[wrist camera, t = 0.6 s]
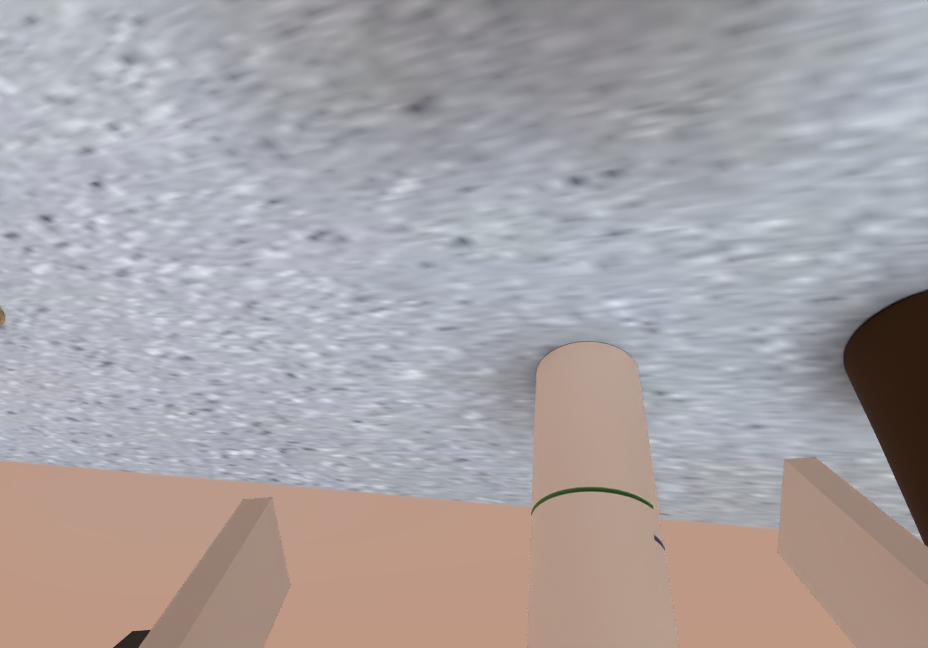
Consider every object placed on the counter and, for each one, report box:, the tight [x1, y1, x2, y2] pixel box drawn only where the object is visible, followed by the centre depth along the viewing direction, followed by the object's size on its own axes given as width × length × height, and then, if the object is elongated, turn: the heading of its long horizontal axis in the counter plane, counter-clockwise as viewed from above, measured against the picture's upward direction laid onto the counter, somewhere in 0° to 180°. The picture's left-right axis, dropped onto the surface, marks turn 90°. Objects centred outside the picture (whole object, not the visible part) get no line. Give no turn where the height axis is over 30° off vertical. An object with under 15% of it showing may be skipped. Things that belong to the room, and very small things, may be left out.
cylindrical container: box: [527, 342, 680, 648], centre depth 29 cm, size 7×7×25 cm
